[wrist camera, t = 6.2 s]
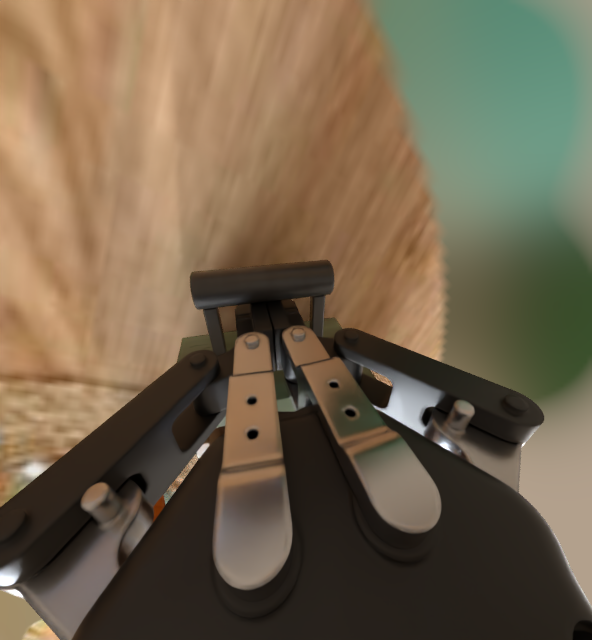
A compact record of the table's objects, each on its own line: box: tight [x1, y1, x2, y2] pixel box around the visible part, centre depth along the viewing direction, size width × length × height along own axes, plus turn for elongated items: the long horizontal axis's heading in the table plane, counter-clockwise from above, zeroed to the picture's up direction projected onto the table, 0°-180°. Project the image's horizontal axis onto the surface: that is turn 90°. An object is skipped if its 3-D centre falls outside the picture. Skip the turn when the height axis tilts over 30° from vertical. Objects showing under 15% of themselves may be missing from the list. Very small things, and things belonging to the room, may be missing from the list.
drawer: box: [177, 260, 377, 459], centre depth 17 cm, size 18×10×6 cm, turn 1°
